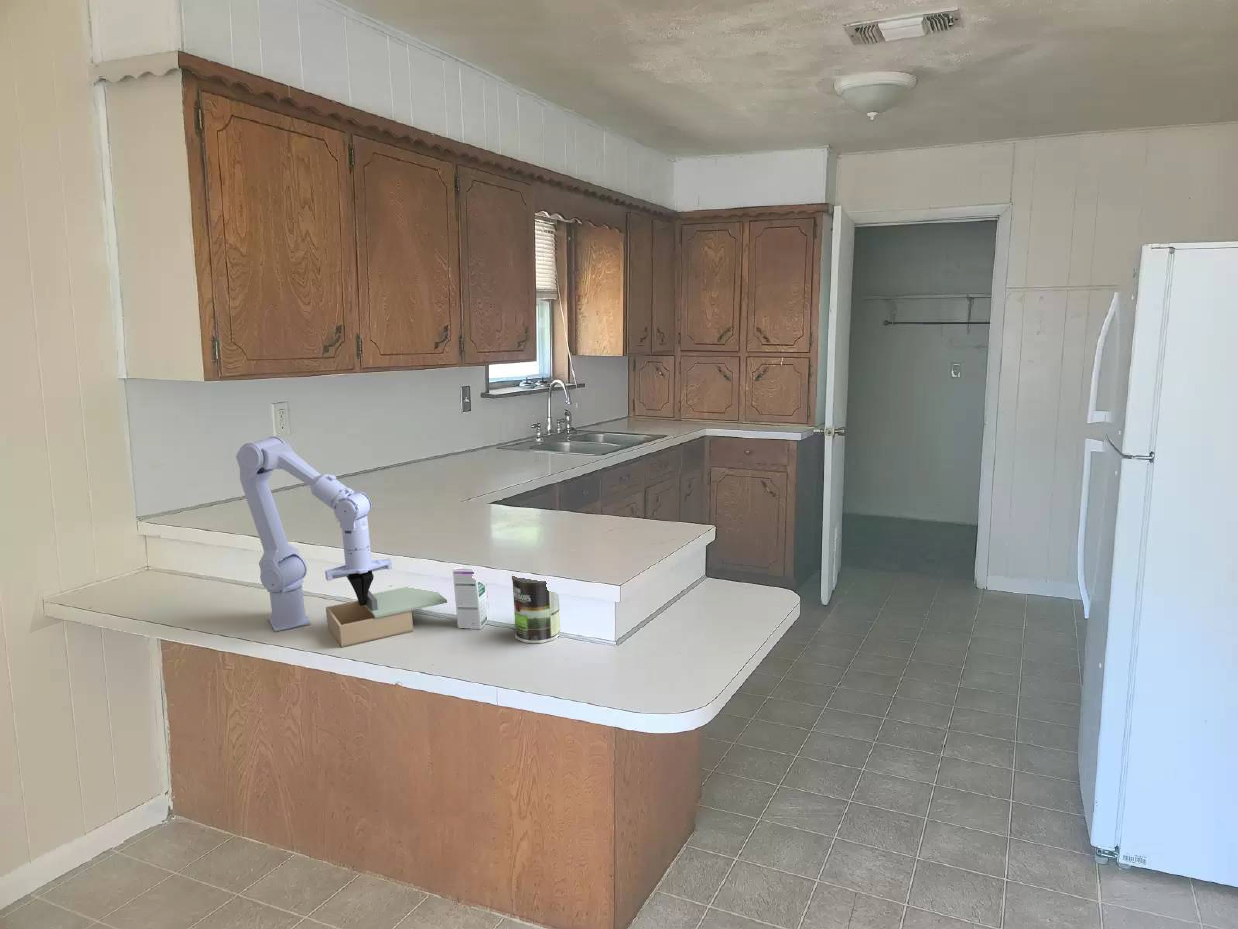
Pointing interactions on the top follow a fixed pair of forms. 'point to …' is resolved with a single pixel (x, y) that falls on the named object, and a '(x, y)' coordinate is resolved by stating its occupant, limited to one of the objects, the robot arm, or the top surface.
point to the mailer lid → (401, 601)
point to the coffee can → (535, 611)
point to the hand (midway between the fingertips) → (362, 604)
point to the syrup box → (469, 599)
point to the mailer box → (364, 624)
